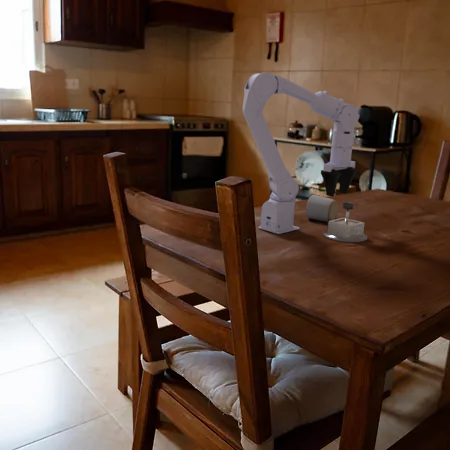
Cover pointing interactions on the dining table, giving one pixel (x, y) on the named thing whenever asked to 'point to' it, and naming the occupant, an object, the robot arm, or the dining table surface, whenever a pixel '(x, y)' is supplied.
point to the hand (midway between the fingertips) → (336, 194)
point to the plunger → (347, 213)
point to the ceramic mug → (321, 208)
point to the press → (345, 231)
